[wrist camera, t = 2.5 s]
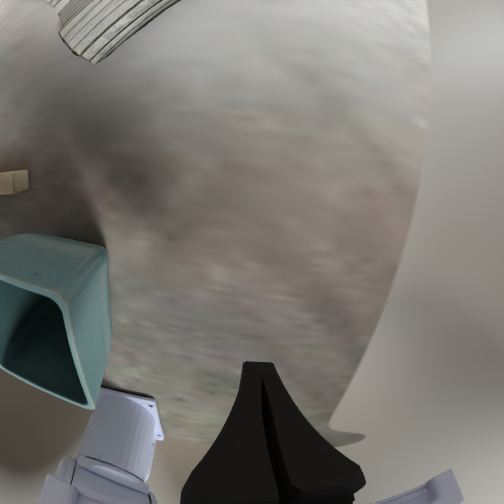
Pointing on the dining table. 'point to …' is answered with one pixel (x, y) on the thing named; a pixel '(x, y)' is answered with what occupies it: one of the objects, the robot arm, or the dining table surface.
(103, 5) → the mat
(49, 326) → the flower pot
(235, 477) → the robot arm
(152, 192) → the dining table surface
